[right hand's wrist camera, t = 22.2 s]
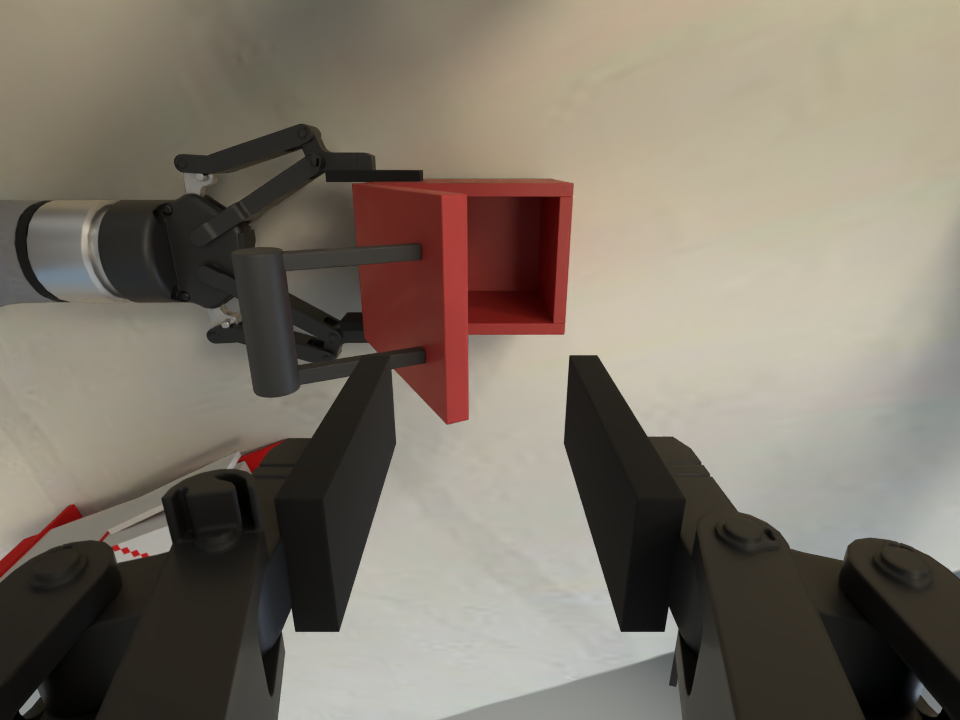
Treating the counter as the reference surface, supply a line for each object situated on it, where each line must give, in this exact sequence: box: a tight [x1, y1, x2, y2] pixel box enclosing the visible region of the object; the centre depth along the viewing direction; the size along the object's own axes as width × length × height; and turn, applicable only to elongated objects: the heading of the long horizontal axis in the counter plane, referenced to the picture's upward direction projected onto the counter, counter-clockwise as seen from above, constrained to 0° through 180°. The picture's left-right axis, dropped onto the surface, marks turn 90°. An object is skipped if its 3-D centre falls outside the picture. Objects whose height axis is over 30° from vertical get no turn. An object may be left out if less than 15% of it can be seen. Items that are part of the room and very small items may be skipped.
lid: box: [231, 183, 469, 424], centre depth 27 cm, size 14×10×9 cm
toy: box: [0, 439, 286, 582], centre depth 50 cm, size 12×13×30 cm
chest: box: [367, 179, 573, 335], centre depth 40 cm, size 14×10×11 cm
